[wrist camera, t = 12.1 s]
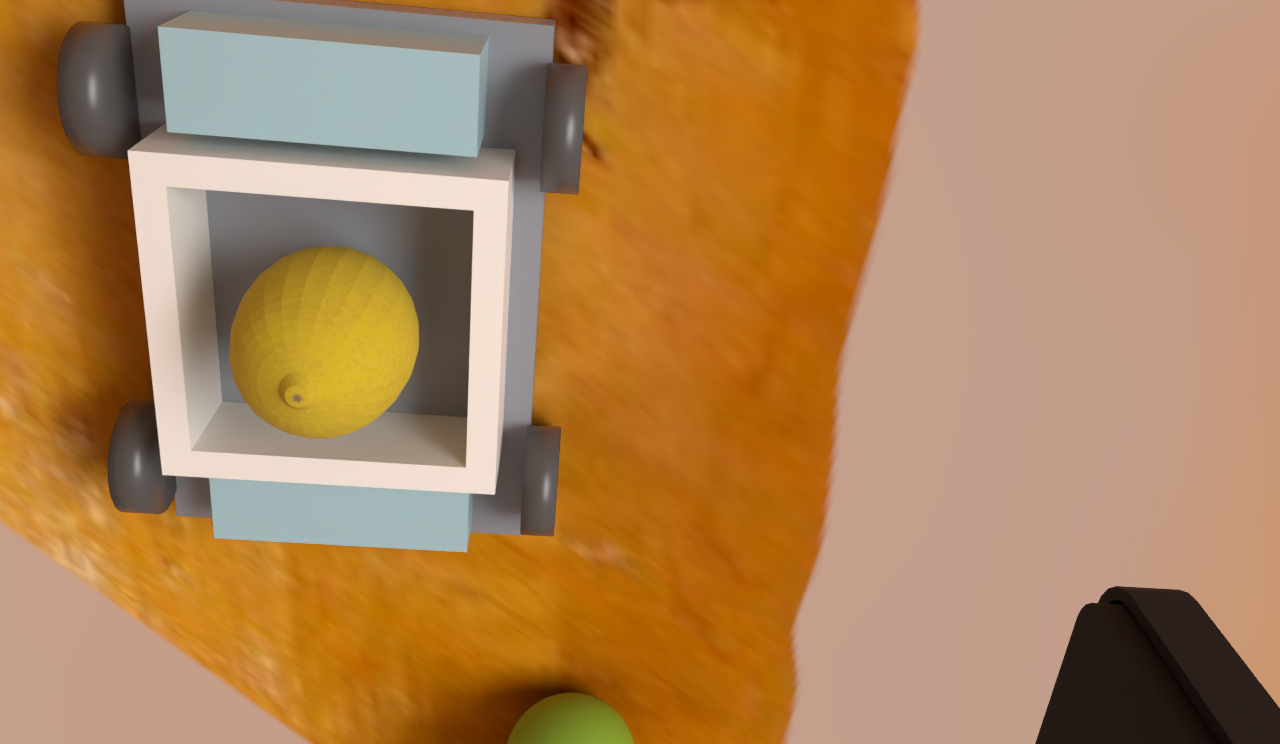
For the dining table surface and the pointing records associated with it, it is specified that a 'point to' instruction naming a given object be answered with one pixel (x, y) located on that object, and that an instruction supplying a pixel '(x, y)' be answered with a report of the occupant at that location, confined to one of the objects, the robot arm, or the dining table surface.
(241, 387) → the lemon
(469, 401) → the chassis
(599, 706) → the snail figurine
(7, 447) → the dining table surface
